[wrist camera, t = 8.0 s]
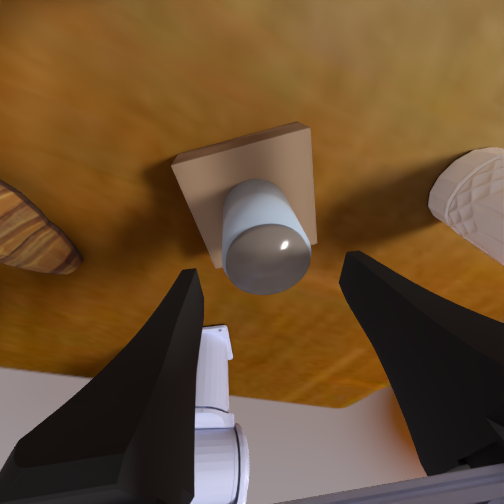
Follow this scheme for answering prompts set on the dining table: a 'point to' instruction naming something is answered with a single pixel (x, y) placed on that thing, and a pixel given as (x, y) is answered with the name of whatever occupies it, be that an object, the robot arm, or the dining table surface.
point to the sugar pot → (262, 239)
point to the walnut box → (248, 177)
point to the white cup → (474, 199)
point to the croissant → (32, 237)
